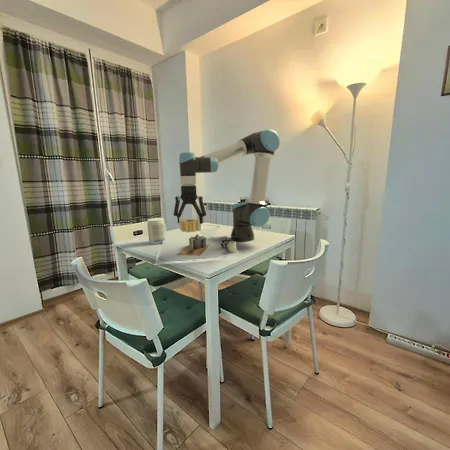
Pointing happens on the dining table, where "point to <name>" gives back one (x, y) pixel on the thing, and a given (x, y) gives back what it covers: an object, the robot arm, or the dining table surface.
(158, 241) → the supplement tub
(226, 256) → the dining table surface
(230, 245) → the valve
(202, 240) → the gear
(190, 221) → the brass gear
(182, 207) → the robot arm
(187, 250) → the gear board
